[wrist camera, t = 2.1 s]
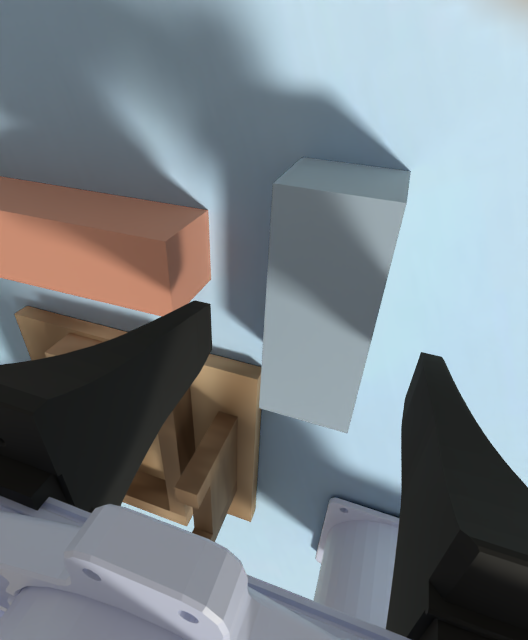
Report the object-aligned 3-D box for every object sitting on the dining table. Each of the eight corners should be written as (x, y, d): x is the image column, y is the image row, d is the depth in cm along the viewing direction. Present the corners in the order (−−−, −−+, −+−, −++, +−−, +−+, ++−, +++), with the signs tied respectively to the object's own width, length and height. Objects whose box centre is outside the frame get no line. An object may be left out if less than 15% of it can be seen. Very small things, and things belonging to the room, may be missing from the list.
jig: (263, 367, 22) (216, 459, 17) (255, 509, 30) (221, 599, 25) (26, 305, 26) (-67, 365, 21) (75, 445, 34) (16, 513, 29)
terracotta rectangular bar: (210, 208, 18) (165, 241, 15) (213, 276, 20) (173, 319, 17) (-44, 167, 22) (-123, 187, 19) (-20, 228, 24) (-89, 256, 21)
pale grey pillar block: (410, 169, 15) (406, 203, 11) (359, 373, 20) (347, 433, 17) (303, 156, 16) (272, 183, 12) (283, 354, 21) (259, 408, 18)
